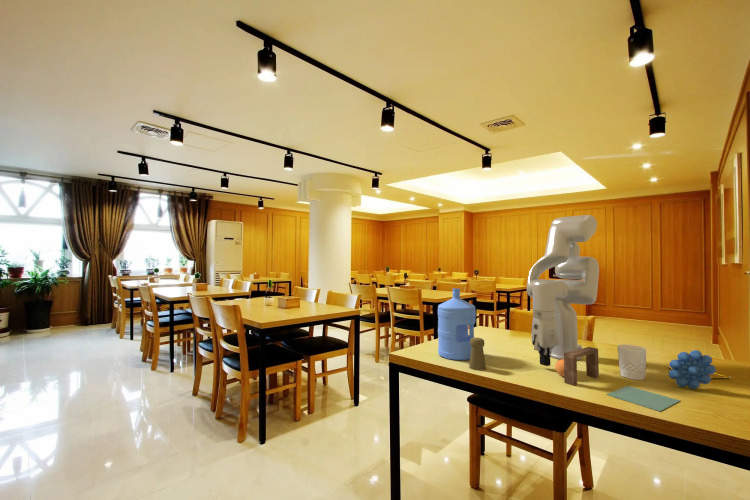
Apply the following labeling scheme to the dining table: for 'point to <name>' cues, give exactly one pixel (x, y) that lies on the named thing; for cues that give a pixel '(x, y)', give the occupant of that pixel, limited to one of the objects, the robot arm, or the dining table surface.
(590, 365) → the bridge
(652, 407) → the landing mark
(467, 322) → the water jug
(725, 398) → the dining table surface
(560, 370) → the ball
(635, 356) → the white cup
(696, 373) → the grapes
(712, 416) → the dining table surface
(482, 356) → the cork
